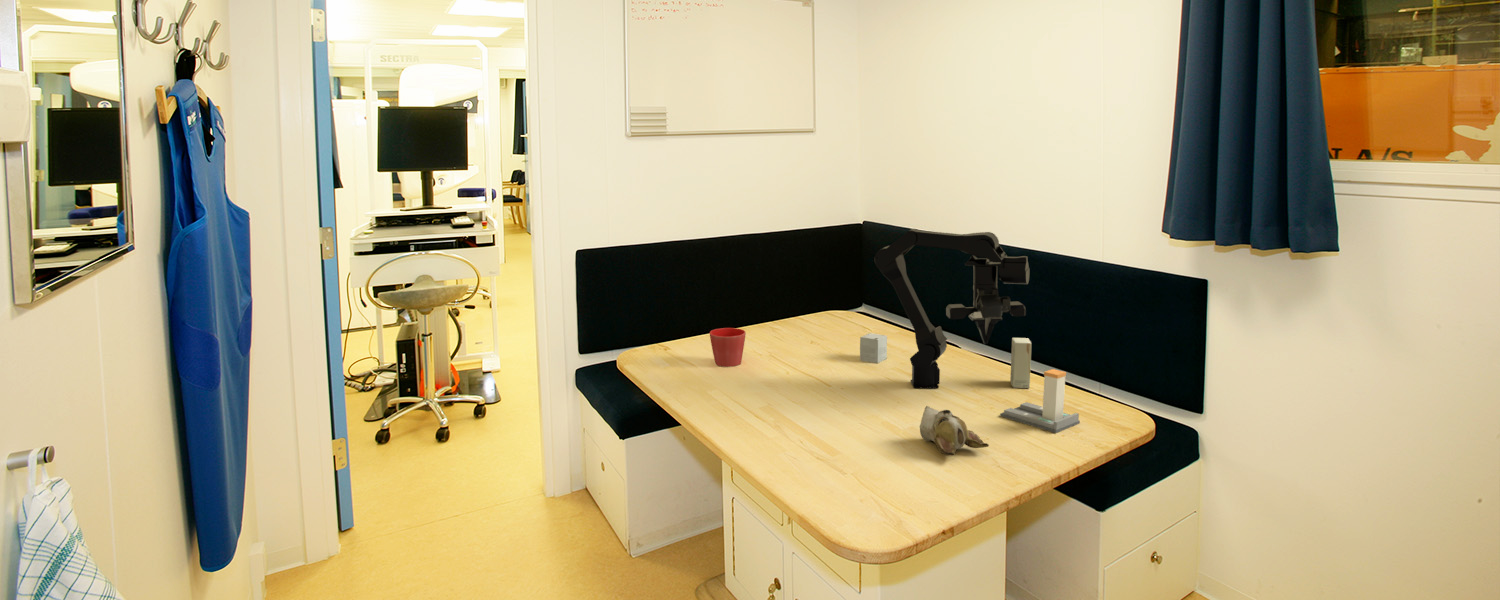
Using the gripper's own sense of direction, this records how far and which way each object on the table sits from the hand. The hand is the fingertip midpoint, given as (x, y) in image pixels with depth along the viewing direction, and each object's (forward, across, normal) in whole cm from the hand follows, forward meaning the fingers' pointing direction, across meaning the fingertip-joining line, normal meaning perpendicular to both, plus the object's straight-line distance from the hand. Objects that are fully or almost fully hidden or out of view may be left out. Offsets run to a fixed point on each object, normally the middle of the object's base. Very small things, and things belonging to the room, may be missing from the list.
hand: (985, 343), depth 204 cm
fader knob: (+14, +10, -22) cm, 28 cm away
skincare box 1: (+12, -25, +32) cm, 42 cm away
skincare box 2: (+14, +10, +7) cm, 18 cm away
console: (+14, +8, -20) cm, 25 cm away
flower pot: (+10, -68, +29) cm, 75 cm away
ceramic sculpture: (+14, -17, -36) cm, 42 cm away
